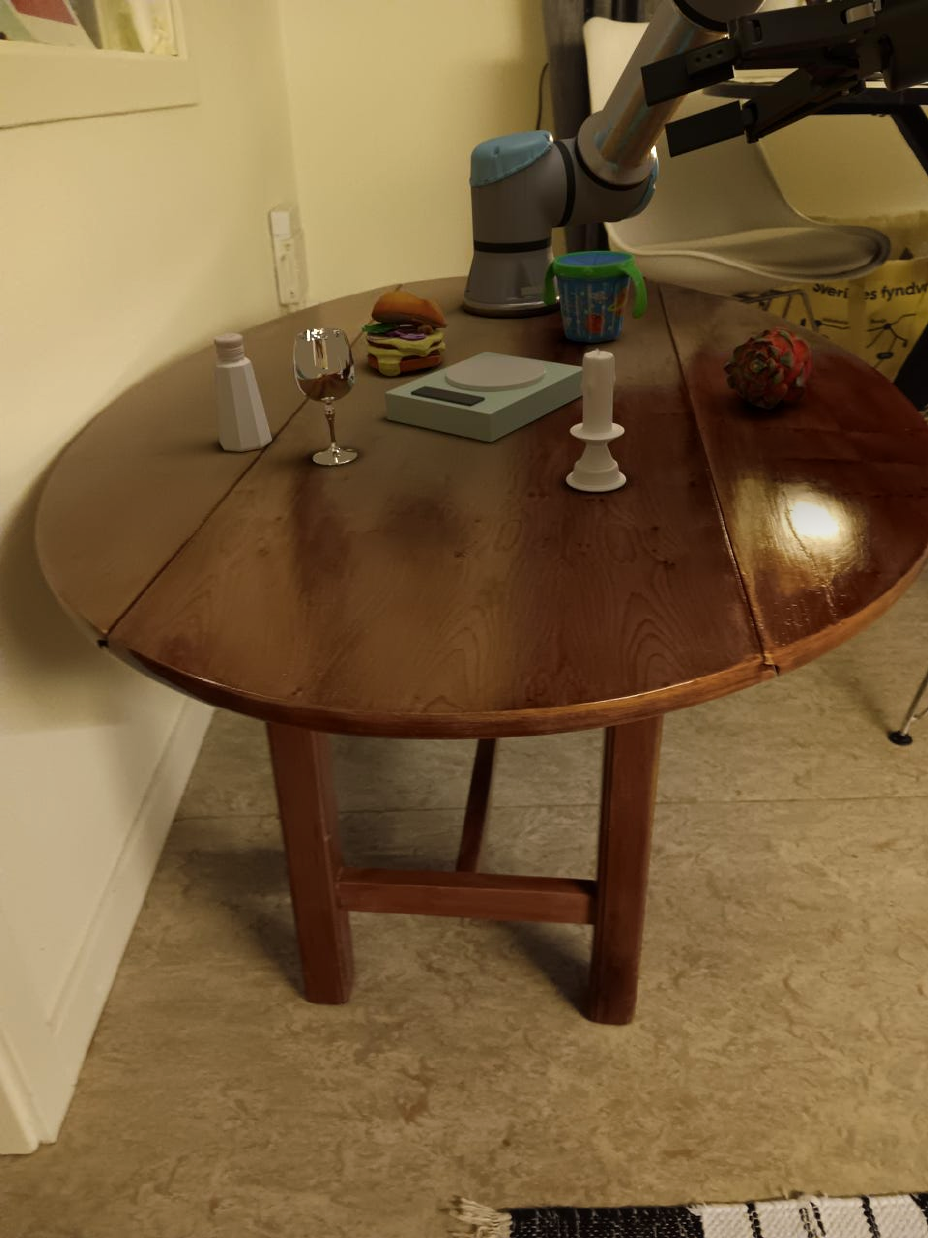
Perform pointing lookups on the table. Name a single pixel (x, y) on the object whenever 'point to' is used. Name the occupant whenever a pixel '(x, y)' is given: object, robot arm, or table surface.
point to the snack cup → (594, 293)
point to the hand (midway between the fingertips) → (656, 116)
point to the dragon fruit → (770, 368)
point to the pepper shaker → (238, 398)
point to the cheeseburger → (404, 333)
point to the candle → (597, 427)
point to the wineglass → (325, 379)
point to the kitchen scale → (485, 395)
